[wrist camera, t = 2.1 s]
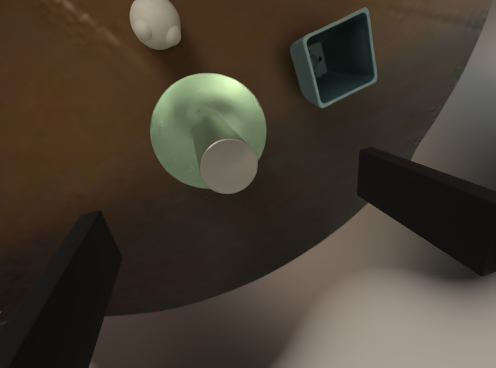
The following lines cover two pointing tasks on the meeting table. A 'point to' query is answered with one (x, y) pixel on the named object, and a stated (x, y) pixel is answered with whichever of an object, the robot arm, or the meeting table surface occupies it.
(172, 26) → the paper ball
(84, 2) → the meeting table surface
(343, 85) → the flower pot
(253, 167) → the bin lid
